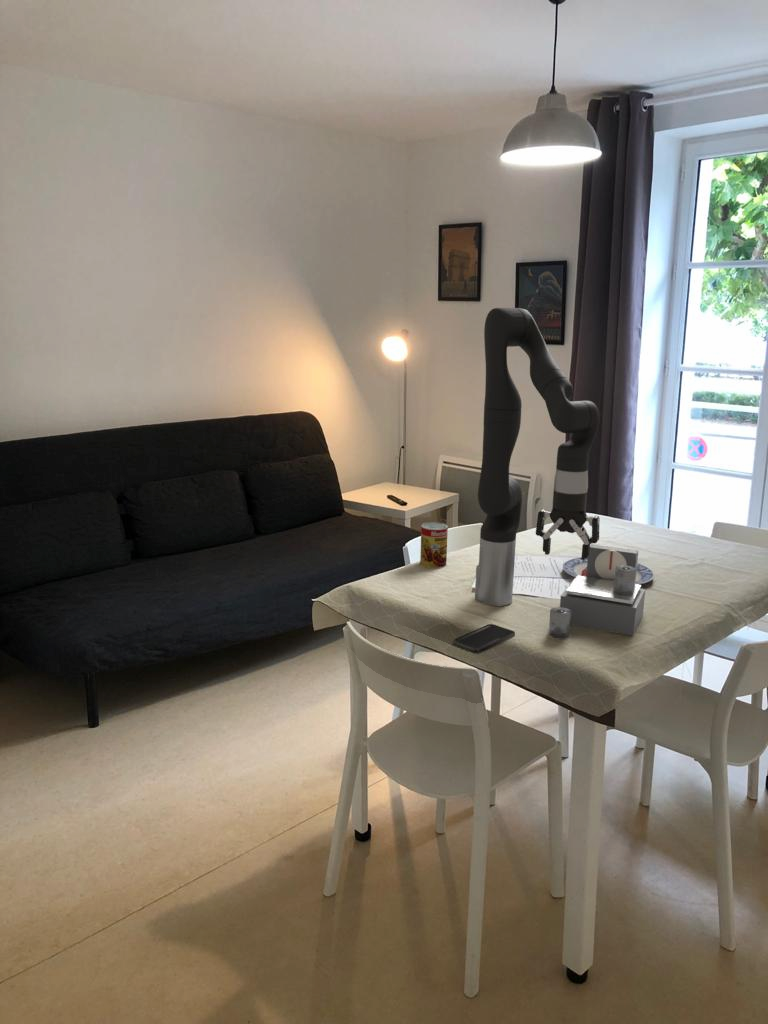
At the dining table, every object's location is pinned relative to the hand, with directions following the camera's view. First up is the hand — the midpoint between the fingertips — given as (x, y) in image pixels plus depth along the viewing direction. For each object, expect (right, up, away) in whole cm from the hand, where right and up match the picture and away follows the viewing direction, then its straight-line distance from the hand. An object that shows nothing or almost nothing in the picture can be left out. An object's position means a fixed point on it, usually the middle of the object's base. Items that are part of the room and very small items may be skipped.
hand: (565, 556), depth 193 cm
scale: (+13, -16, +16) cm, 26 cm away
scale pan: (+12, -9, +13) cm, 20 cm away
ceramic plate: (+23, -9, +48) cm, 54 cm away
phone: (-19, -20, +1) cm, 27 cm away
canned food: (-28, -6, +56) cm, 62 cm away
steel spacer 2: (+17, -9, +10) cm, 21 cm away
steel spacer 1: (0, -19, +5) cm, 20 cm away
